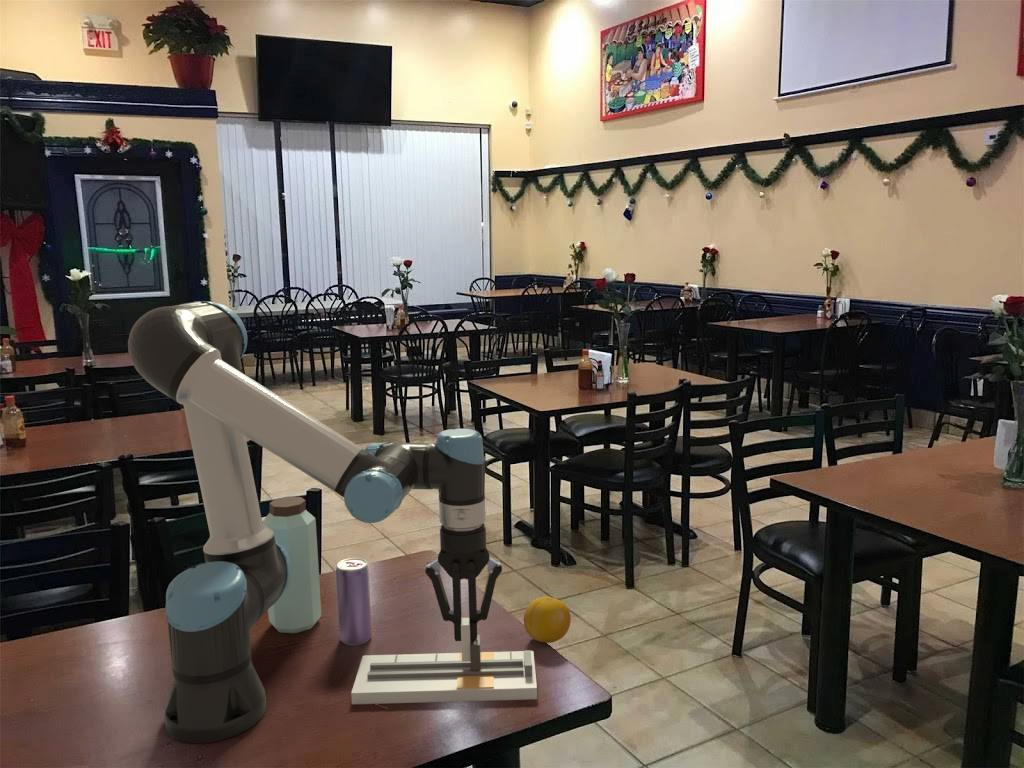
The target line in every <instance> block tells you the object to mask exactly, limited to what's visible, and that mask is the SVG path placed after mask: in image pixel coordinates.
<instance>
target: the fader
mask: <svg viewBox="0 0 1024 768" xmlns="http://www.w3.org/2000/svg"><path fill="white" fill-rule="evenodd" d="M481 652H482V651H481V634H477V639H476V641H470V659H471V670H480V666H481Z"/></svg>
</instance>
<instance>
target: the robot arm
mask: <svg viewBox="0 0 1024 768" xmlns="http://www.w3.org/2000/svg"><path fill="white" fill-rule="evenodd" d="M247 346H248V334H247V329H246V327H245V324H244V322H243V320H242V319H241V318H240V316H239V315H238V314H237V312H235V311H234V310H233V309H231V308H230V307H228V306H226V305H225V304H222V303H219V302H214V301H204V300H201V301H191V302H186V303H181V304H176V305H170V306H169V305H168V306H161V307H157V308H154V309H150V310H149V311H147V312H146V313H145V314H142V316H140V317H139V318H138V320H136V321H135V323H134V324H133V325H132V328H131V330H130V333H129V337H128V340H127V348H128V349H127V350H128V355H129V357H130V361H131V364H132V365H133V367H134V368H135V370H136V372H137V373H138V374H139V375H140V376H141V377H142V378H143V379H144V380H145V381H146V382H147V383H149V384H150V385H151V386H152V387H153V388H155V389H156V390H158V391H159V392H161V393H162V394H163V395H165V396H167V397H169V398H170V399H172V400H174V401H175V402H177V403H178V404H179V405H183V411H184V416H185V419H186V423H187V429H188V435H189V439H190V443H191V448H192V453H193V459H194V463H195V468H196V472H197V478H198V483H199V486H200V487H199V489H200V492H201V498H202V501H203V507H204V512H205V516H206V521H207V522H206V523H207V525H208V531H209V538H208V539H207V541H206V543H205V544H204V545H203V547H202V548H203V549H202V551H203V555H204V560H205V563H200V564H196V567H190V568H188V569H186V570H183V571H182V572H181V573H179V574H177V575H176V576H175V577H174V578H173V579H172V581H171V582H170V583H169V584H168V587H167V589H166V592H165V607H164V608H165V613H164V614H165V617H166V621H167V623H166V624H167V630H168V640H169V648H170V658H171V668H172V681H171V685H170V689H169V692H168V696H167V700H166V704H165V708H164V725H165V731H166V733H167V734H168V736H170V737H171V738H173V740H174V739H175V740H177V741H179V742H183V743H188V744H205V743H207V744H208V743H214V742H218V741H222V740H226V739H230V738H232V737H233V738H234V737H235V736H237V735H240V734H241V733H244V732H246V731H247V730H249V729H250V728H252V727H254V726H255V725H256V724H257V723H258V722H259V721H260V720H261V719H262V718H263V717H264V715H265V713H266V710H267V696H266V690H265V688H264V686H263V683H262V681H261V679H260V677H259V675H258V673H257V670H256V668H255V666H254V664H253V662H252V649H251V637H250V631H251V628H253V626H254V625H255V624H256V623H257V622H258V621H259V620H260V619H261V618H262V617H263V615H264V614H265V613H266V612H268V609H269V608H270V607H271V606H272V605H273V604H275V603H276V602H277V601H278V600H279V598H280V597H281V595H282V594H283V592H284V590H285V588H286V587H287V585H288V583H289V580H290V575H291V563H290V559H289V556H288V554H287V552H286V550H285V549H284V547H283V546H280V545H279V544H278V542H277V541H276V540H275V537H274V533H273V530H271V529H270V528H268V527H266V526H265V525H263V523H262V522H263V519H262V514H261V509H260V504H259V498H258V494H257V489H256V484H255V479H254V474H253V473H254V472H253V468H252V467H253V466H252V464H251V458H250V453H249V448H248V443H247V438H248V439H249V440H251V441H253V442H254V443H256V444H258V445H259V446H260V447H263V448H264V449H266V450H267V451H269V452H270V453H272V454H274V455H275V456H277V457H278V458H280V459H282V460H283V461H284V462H286V463H288V464H290V465H291V466H293V467H294V468H296V469H298V470H299V471H300V472H302V473H303V474H306V475H307V476H309V477H311V478H313V479H314V480H316V481H317V482H319V483H320V484H322V485H324V486H325V487H326V488H328V489H330V490H332V491H333V492H335V493H336V494H338V495H339V496H341V498H343V500H344V501H343V502H344V506H345V508H346V509H347V510H348V513H350V515H351V516H352V517H353V518H355V520H357V521H359V522H362V523H365V524H376V523H379V522H382V521H384V520H386V519H387V518H388V517H390V516H391V515H392V514H393V513H394V512H395V511H396V510H398V509H399V507H400V506H401V505H402V502H403V500H404V499H406V497H407V495H408V494H409V493H410V491H411V490H437V491H438V511H439V512H438V513H439V514H438V515H439V524H440V525H441V526H440V527H439V541H440V543H439V544H440V547H439V548H440V549H439V550H440V551H439V553H438V555H437V559H435V560H433V561H432V562H431V561H429V562H427V563H426V566H425V568H424V569H425V571H424V572H425V574H426V576H427V577H428V578H429V580H430V581H431V583H432V587H433V590H434V594H435V596H436V597H435V598H436V600H437V604H438V606H439V611H440V613H441V618H442V620H443V621H445V622H452V624H453V629H454V631H453V632H454V634H453V636H454V637H453V638H454V641H455V642H460V643H461V653H462V662H468V661H471V659H470V641H476V639H477V635H478V623H479V622H480V621H486V620H487V619H488V615H489V611H490V608H491V603H492V598H493V595H494V590H495V586H496V582H497V579H498V577H500V574H501V573H502V572H503V562H502V561H501V560H498V559H497V560H496V559H494V558H492V557H491V556H490V552H489V551H488V549H487V527H486V524H485V522H486V518H487V517H486V491H485V490H486V489H485V488H486V487H485V486H486V485H485V483H486V480H485V478H486V477H485V474H486V473H485V470H486V469H485V466H486V465H485V464H486V463H485V461H486V458H485V457H486V456H485V455H484V454H485V453H484V441H483V437H482V436H483V435H481V433H480V432H479V431H478V430H475V429H471V428H455V429H452V428H449V429H446V430H442V431H440V432H439V433H438V434H437V436H436V441H435V442H430V443H429V442H428V443H425V442H393V441H385V442H373V443H369V444H367V446H366V447H365V448H364V449H363V447H361V446H359V445H357V444H356V443H354V442H353V441H351V440H349V439H348V438H347V437H345V436H343V435H341V434H340V433H339V432H337V431H336V430H334V429H332V428H330V427H329V426H328V425H326V424H324V423H323V422H321V421H320V420H318V419H316V418H314V417H313V416H312V415H311V414H308V413H307V412H305V411H303V410H302V409H300V408H298V407H297V406H296V405H294V404H292V403H291V402H289V401H288V400H286V399H284V398H283V397H281V396H279V395H278V394H277V393H275V392H273V391H272V390H270V389H269V388H267V387H265V386H264V385H262V384H261V383H259V382H257V381H256V380H255V379H252V378H251V377H249V376H248V375H247V374H244V371H243V365H242V361H241V359H242V358H243V356H244V354H245V352H246V350H247ZM486 565H487V572H488V575H487V580H486V584H485V589H484V593H483V597H482V600H481V605H480V609H478V607H477V605H478V604H477V578H478V577H479V575H480V574H481V573H482V572H483V570H484V569H485V567H486ZM441 568H442V569H443V570H444V571H445V573H446V574H447V575H448V576H449V577H450V578H451V579H452V583H451V584H452V603H453V604H452V606H453V607H452V608H453V609H451V607H450V604H449V600H448V597H447V594H446V589H445V587H444V583H443V580H442V577H441ZM463 579H464V580H467V586H468V588H467V589H468V617H462V615H463V612H462V584H461V583H462V580H463Z"/></svg>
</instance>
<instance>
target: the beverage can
mask: <svg viewBox="0 0 1024 768" xmlns="http://www.w3.org/2000/svg"><path fill="white" fill-rule="evenodd" d="M369 569H370V568H369V566H368V561H367V560H365V559H363V558H360V557H358V558H357V557H352V558H351V557H350V558H346V559H343V560H340V561H339V562H337V564H336V569H335V575H336V576H335V578H336V595H337V598H336V599H337V614H338V615H337V616H338V628H339V629H338V632H339V639H340V641H341V642H342V643H343V644H344V645H346V646H352V647H354V646H361V645H364V644H366V643H367V642H368V641H370V639H371V638H372V636H373V633H372V632H373V631H372V629H373V628H372V611H371V610H372V609H371V608H372V607H371V593H370V592H371V589H370V587H371V586H370V570H369Z"/></svg>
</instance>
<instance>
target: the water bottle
mask: <svg viewBox="0 0 1024 768" xmlns="http://www.w3.org/2000/svg"><path fill="white" fill-rule="evenodd" d="M306 502H307V501H306V499H304V498H303V497H301V496H284V497H279V498H275V499H273V500H272V501H270V502H269V505H268V506H269V513H268V514H267V515H266V516H265V518H264V519H262V523H263V525H265V526H266V527H268V528H270V529H271V530H273V533H274V537H275V540H276V541H277V542H278V544H279V545H280V546H283V547H284V549H285V550H286V552H287V554H288V556H289V559H290V563H291V575H290V580H289V583H288V585H287V587H286V588H285V590H284V592H283V594H282V595H281V597H280V598H279V600H278V601H277V602H276V603H275V604H273V605H272V606H271V607H270V608H269V609H268V610H267V613H268V621H269V622H270V624H271V625H272V626H273V628H275V629H276V630H277V632H278V633H285V634H297V633H301V632H304V631H307V630H311V629H312V628H314V626H315V625H316V623H317V622H318V621H319V619H320V618H321V616H322V603H321V602H322V601H321V587H320V586H321V585H320V583H321V582H320V572H319V571H320V569H319V554H318V553H319V552H318V551H319V550H318V537H317V522H316V517H315V516H314V515H312V514H311V513H310V512H309V511H307V509H306V507H307V506H306Z"/></svg>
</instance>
